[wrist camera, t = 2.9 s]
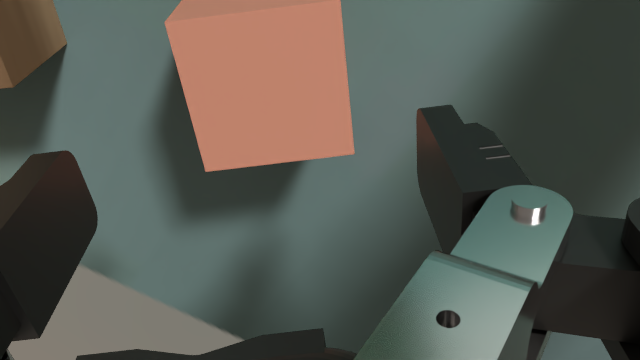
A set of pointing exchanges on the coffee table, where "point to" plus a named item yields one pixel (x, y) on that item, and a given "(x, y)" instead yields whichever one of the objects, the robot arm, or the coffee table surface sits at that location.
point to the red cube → (263, 79)
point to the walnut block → (27, 38)
